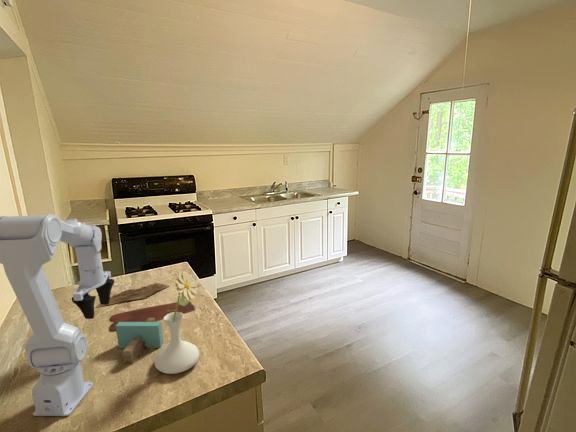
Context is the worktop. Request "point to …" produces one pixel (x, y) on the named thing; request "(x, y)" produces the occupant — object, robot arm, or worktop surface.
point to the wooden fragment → (136, 293)
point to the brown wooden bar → (134, 347)
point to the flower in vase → (178, 332)
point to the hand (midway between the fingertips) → (97, 310)
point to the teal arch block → (140, 333)
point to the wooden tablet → (148, 313)
